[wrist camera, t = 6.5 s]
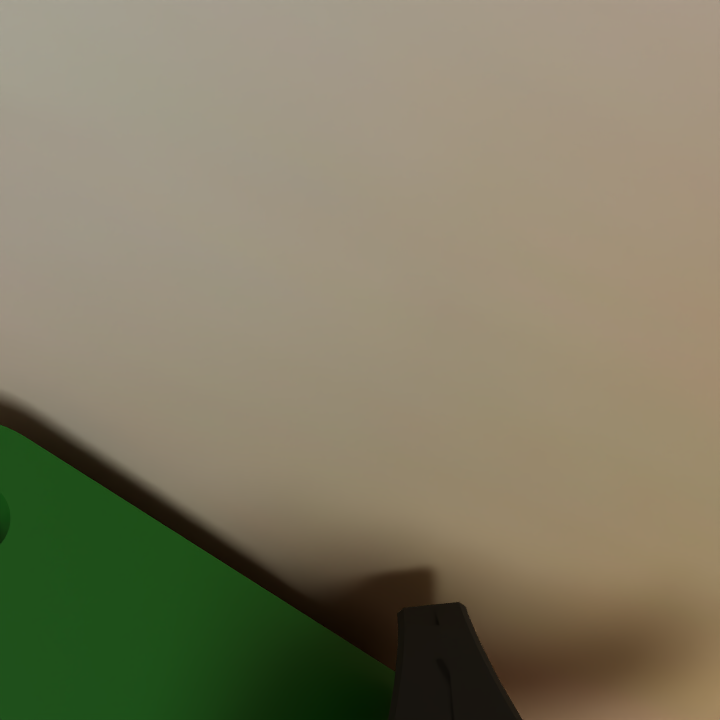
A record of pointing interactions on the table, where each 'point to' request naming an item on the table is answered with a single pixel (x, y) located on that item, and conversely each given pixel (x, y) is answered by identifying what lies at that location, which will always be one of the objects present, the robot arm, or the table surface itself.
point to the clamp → (149, 617)
